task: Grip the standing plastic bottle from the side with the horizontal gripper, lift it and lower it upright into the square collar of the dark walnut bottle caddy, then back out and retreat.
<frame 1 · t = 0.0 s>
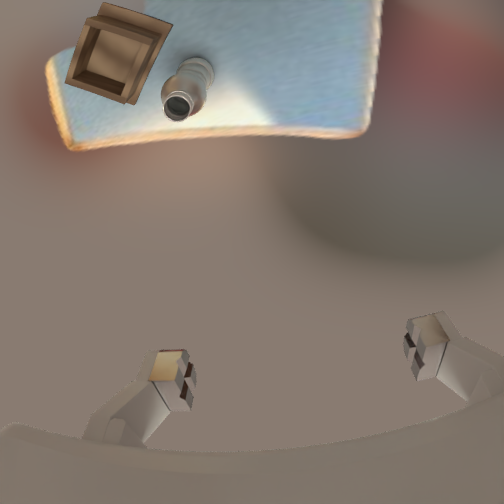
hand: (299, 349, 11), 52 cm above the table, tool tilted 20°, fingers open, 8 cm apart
bottle caddy: (119, 52, 44), on the table
plastic bottle: (197, 72, 49), on the table
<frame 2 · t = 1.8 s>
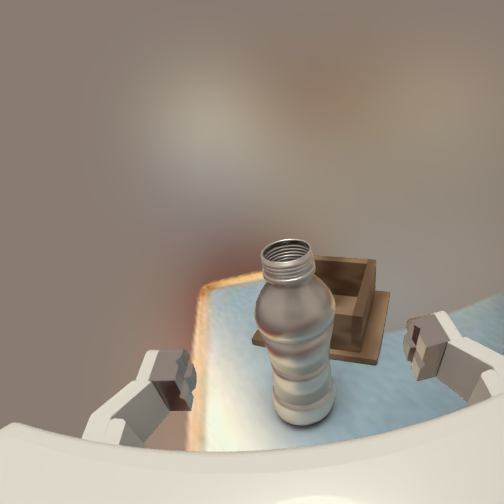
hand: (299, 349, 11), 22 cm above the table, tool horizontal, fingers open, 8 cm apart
bottle caddy: (326, 320, 44), on the table
plastic bottle: (305, 409, 32), on the table
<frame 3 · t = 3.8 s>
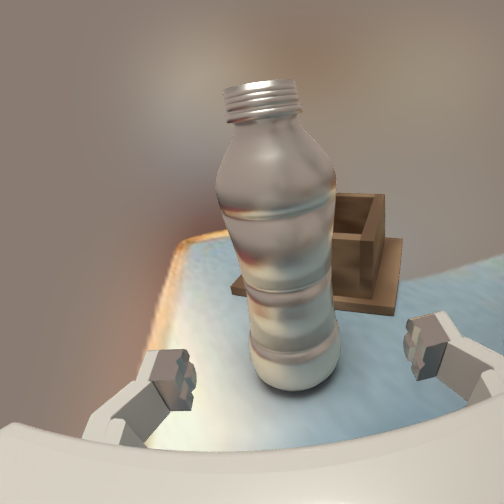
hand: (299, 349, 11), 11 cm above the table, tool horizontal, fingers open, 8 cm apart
bottle caddy: (326, 268, 36), on the table
plastic bottle: (298, 371, 23), on the table
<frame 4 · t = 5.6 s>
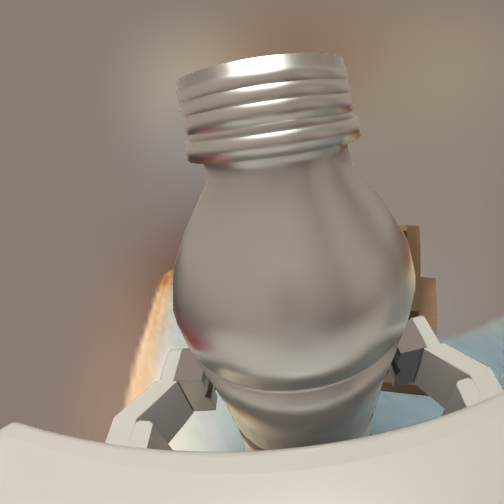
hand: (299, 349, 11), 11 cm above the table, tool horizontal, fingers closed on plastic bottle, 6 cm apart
bottle caddy: (343, 321, 27), on the table
plastic bottle: (310, 480, 15), on the table, touching gripper
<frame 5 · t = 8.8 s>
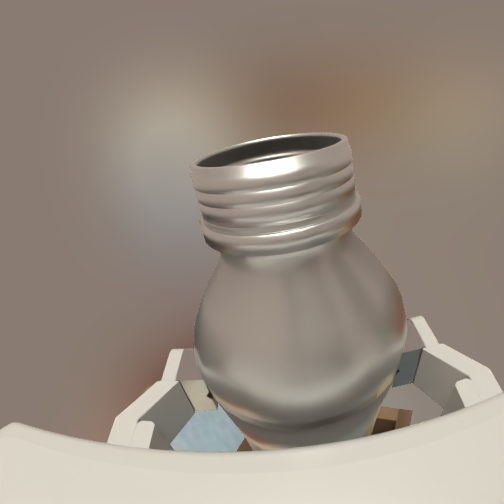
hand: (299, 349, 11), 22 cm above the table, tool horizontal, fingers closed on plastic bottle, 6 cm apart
bottle caddy: (317, 488, 22), on the table
plastic bottle: (317, 486, 16), point 9 cm above the table, touching gripper
when the fingers open (13 cm above the table, at t = 11.8 s): plastic bottle stays where it is, resting on bottle caddy.
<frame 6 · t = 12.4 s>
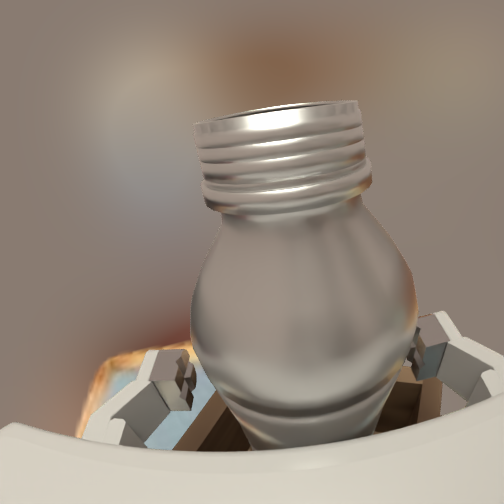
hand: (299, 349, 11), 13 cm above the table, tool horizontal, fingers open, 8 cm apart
bottle caddy: (310, 488, 16), on the table
plastic bottle: (314, 485, 15), point 1 cm above the table, touching bottle caddy
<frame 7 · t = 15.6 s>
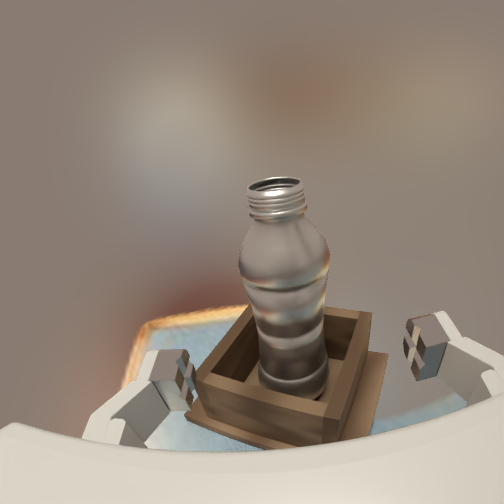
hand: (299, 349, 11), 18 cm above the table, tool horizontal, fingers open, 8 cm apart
bottle caddy: (293, 394, 29), on the table
plastic bottle: (295, 389, 29), point 1 cm above the table, touching bottle caddy
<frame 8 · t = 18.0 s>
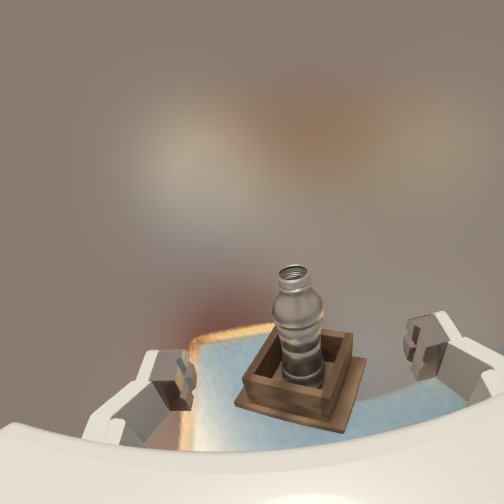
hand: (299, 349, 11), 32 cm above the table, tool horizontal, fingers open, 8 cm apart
bottle caddy: (303, 385, 46), on the table
plastic bottle: (304, 382, 45), point 1 cm above the table, touching bottle caddy
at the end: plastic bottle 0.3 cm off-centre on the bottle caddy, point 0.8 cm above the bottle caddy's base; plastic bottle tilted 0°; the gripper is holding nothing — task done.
